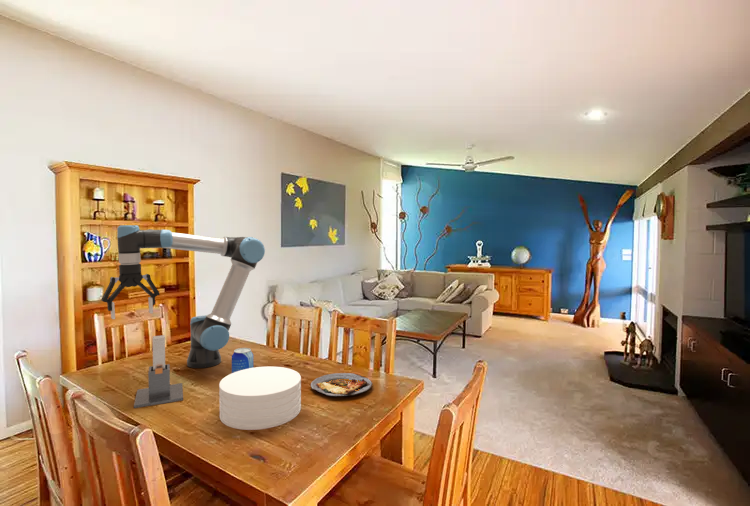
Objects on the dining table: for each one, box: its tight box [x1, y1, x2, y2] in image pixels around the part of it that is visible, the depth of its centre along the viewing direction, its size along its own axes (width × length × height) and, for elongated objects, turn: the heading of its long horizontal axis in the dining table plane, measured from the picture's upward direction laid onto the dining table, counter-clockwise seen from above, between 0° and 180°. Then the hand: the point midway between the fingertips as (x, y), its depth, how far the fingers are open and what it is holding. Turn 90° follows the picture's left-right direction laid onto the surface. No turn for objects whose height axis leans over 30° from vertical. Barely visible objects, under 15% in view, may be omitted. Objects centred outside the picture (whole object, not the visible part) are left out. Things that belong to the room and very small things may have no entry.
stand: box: [133, 363, 184, 409], centre depth 155 cm, size 16×16×12 cm
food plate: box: [310, 372, 373, 397], centre depth 165 cm, size 25×23×4 cm
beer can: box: [231, 347, 254, 374], centre depth 163 cm, size 8×8×16 cm
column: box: [152, 334, 166, 371], centre depth 154 cm, size 5×5×22 cm
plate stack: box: [218, 365, 302, 431], centre depth 144 cm, size 28×28×12 cm
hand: (132, 315), depth 162 cm, fingers open, 13 cm apart
